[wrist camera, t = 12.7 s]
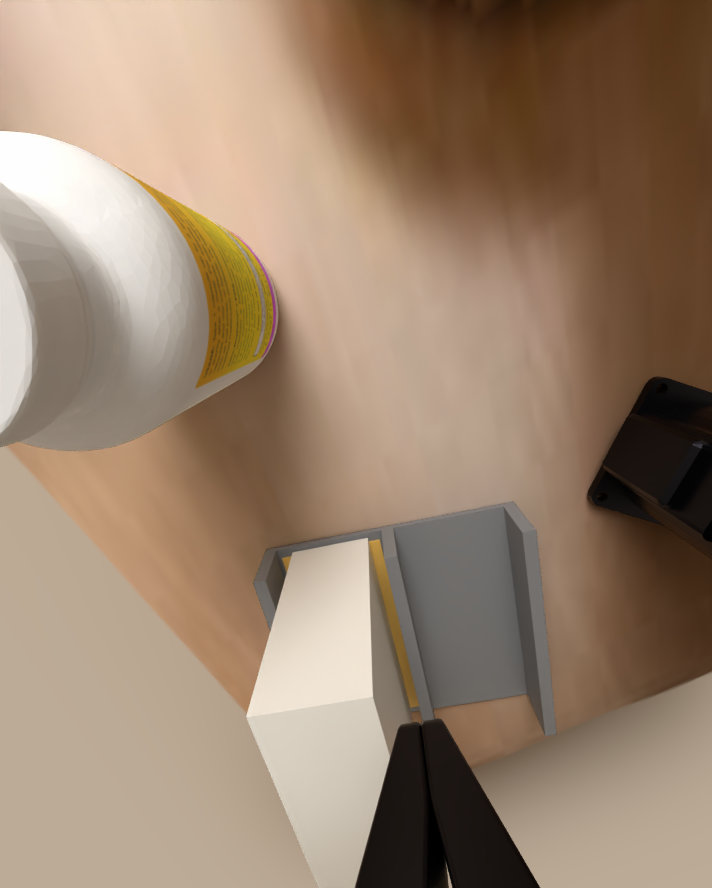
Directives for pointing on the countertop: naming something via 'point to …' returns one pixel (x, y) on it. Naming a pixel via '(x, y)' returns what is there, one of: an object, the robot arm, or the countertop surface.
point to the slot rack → (453, 606)
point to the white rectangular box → (330, 704)
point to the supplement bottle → (114, 301)
